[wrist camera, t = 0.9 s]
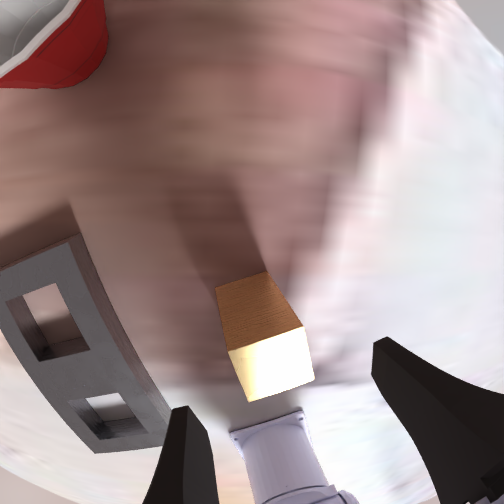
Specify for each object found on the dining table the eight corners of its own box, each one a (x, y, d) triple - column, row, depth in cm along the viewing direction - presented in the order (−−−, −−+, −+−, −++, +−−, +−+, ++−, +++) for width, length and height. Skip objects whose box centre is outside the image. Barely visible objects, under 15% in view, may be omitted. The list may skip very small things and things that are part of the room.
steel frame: (180, 423, 25) (181, 442, 23) (98, 436, 24) (94, 453, 22) (80, 232, 19) (67, 242, 16) (-8, 271, 18) (-23, 282, 15)
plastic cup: (121, 130, 17) (35, 98, 6) (1, 120, 15) (-110, 113, 3) (167, -4, 15) (157, -116, 3) (45, -3, 12) (-22, -71, 1)
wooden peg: (278, 315, 24) (314, 379, 16) (230, 331, 23) (248, 402, 16) (266, 270, 22) (303, 326, 15) (214, 287, 22) (227, 351, 14)
